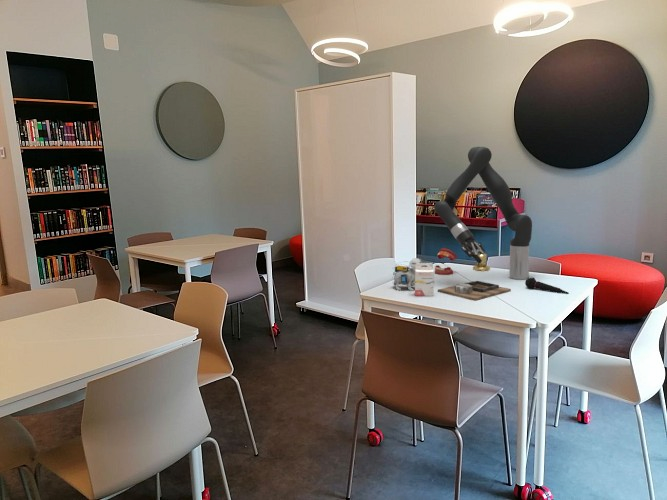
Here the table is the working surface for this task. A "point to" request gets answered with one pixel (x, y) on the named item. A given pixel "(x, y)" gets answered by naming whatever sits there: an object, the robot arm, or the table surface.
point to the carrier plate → (474, 290)
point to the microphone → (542, 286)
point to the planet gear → (482, 263)
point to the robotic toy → (406, 274)
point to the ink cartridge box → (424, 279)
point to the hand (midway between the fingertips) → (483, 261)
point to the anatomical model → (443, 254)
